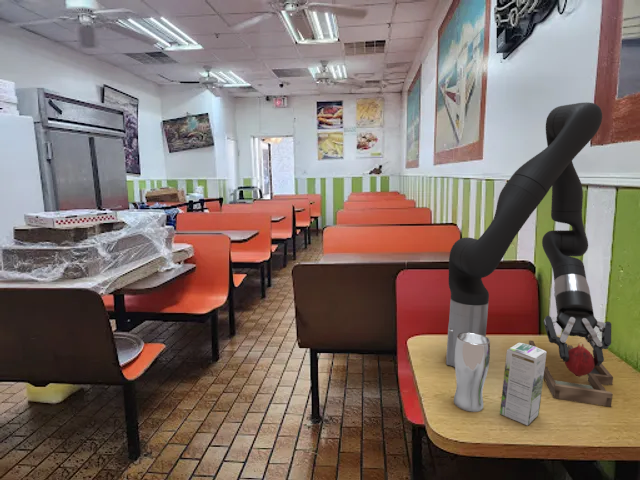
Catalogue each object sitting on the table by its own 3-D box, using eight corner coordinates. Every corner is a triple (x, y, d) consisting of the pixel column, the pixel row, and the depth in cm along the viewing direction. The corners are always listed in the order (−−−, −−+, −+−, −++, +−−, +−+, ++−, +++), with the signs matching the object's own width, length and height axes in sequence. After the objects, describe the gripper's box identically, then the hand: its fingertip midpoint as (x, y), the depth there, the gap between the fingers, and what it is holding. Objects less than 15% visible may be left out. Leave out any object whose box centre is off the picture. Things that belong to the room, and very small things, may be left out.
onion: (597, 384, 90) (601, 350, 89) (569, 381, 92) (572, 347, 90) (586, 371, 96) (589, 339, 95) (559, 369, 97) (562, 337, 96)
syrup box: (511, 404, 88) (517, 340, 86) (540, 416, 84) (547, 349, 82) (499, 414, 84) (505, 348, 82) (529, 427, 80) (536, 357, 78)
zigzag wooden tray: (534, 395, 92) (535, 382, 92) (513, 344, 121) (514, 335, 120) (632, 410, 87) (634, 397, 86) (587, 354, 115) (588, 344, 115)
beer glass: (447, 395, 91) (451, 331, 89) (478, 396, 91) (484, 332, 89) (456, 412, 85) (461, 344, 82) (490, 413, 84) (496, 345, 82)
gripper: (543, 286, 100) (550, 352, 91) (611, 291, 96) (626, 361, 86) (537, 301, 106) (542, 364, 96) (601, 306, 102) (613, 373, 92)
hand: (582, 362), depth 92 cm, fingers closed on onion, 5 cm apart
